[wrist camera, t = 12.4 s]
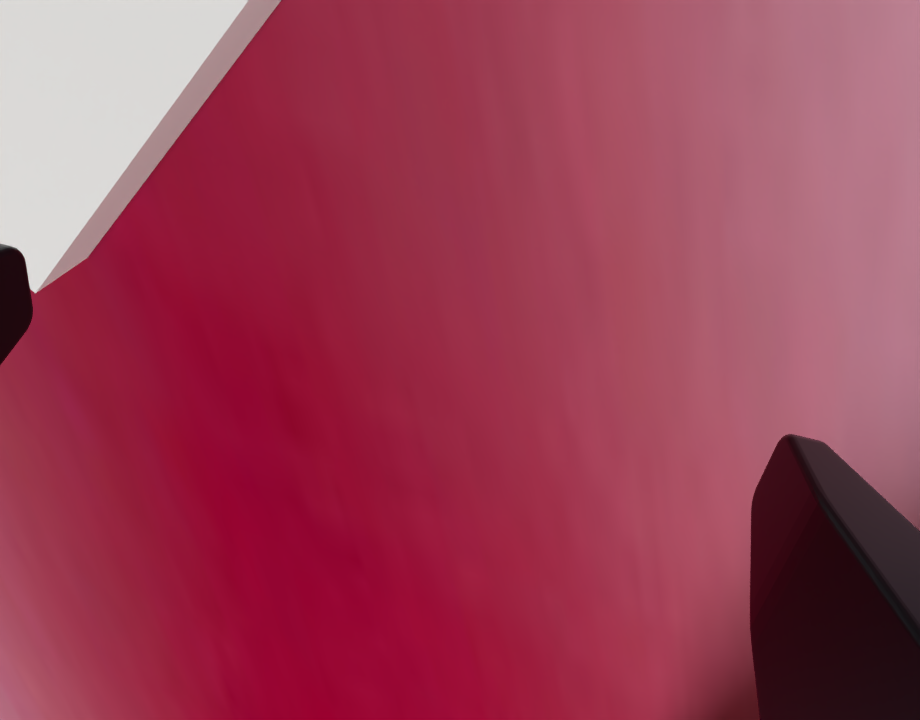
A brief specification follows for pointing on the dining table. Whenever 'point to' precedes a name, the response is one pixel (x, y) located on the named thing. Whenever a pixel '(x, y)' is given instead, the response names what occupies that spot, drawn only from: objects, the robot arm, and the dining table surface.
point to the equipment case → (99, 109)
